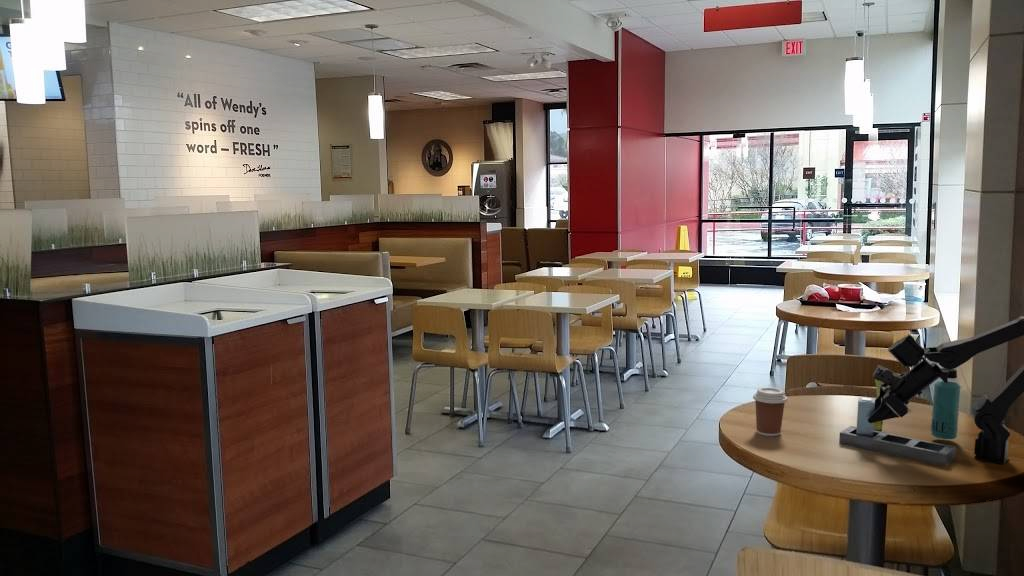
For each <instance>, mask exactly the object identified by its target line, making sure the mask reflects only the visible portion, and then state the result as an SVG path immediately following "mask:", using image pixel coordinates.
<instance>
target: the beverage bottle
mask: <svg viewBox="0 0 1024 576" xmlns="http://www.w3.org/2000/svg"><path fill="white" fill-rule="evenodd" d="M940 368H941V369H942V370H943V371H948V372H949V374H948V382H947V383H945V382H944V381H943V380H942V379H939V380H936V381H935V382H934V387H933V388H934V389H933V390H934V391H933V396H932V400H933V401H932V411H931V425H930V431H929V432H930V433H931V436H933V437H934V438H937V439H942V440H956V438H957V437H958V430H959V407H960V405H959V404H960V398H961V397H960V395H961V394H960V393H961V387H962V386H960V384H959V383H958V382H957V381H954V380H950V379H957V378H958V370H957V369H956V368H954V369H946V368H943V367H940Z"/></svg>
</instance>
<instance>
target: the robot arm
mask: <svg viewBox="0 0 1024 576" xmlns="http://www.w3.org/2000/svg"><path fill="white" fill-rule="evenodd" d="M1023 336H1024V315H1022V316H1021V315H1020V316H1019V317H1017V318H1015V319H1013V320H1011V321H1009V322H1006V323H1004V324H1001V325H998V326H997V327H994V328H991V329H988V330H987V331H983V332H982V333H979V334H977V335H974V336H972V337H969V338H965V339H964V338H963V339H956V340H952V341H948V342H943V343H940V344H939V345H938V346H933V347H931V346H930V347H929V346H927V347H922V345H920V343H919V342H917V341H916V340H915V337H914V336H912V334H911V333H908V334H907V335H906V336H903V337H902V338H900V339H897V340H896V341H895V342H894V343H892V345H890V346H889V348H888V349H887V351H888V352H889V354H891V355H892V356H893V358H895V359H896V360H897V362H899V363H900V364H901V365H902V367H903V368H904V367H905V368H906V367H908V368H911V369H910V370H909V371H907V372H903V371H902V372H901V373H896V372H894V371H893V370H890V369H889V368H887V367H885V366H883V365H880V364H878V365H877V366H876V368H875V370H874V371H873V373H872V379H874V380H875V379H876V380H877V381H881V382H882V383H881V386H882V387H883V388H882V387H881V386H880V387H879V395H878V397H877V396H876V398H874V399H875V411H874V413H873V414H872V415H871V416H870V417H869V418H868V420H867V421H868V422H869V423H874V422H878V421H882V420H883V421H885V420H890V419H896V418H897V419H899V418H901V419H902V418H903V417H905V416H906V415H907V414H908V411H909V409H908V404H909V403H910V400H912V399H913V398H915V397H916V396H917V395H918V396H920V395H922V394H923V391H924V390H925V389H926V388H928V387H929V386H931V385H932V384H933V383H935V382H937V381H938V379H940V380H943V381H944V382H945V383H947V382H948V380H949V378H948V374H949V372H948V371H943V370H942V369H941V368H946V369H956V368H959V367H960V366H961V365H963V364H965V363H966V362H968V361H970V360H971V359H972V358H973V357H974V356H976V355H978V354H979V353H984V352H985V351H987V350H990V349H992V348H995V347H997V346H1000V345H1003V344H1005V343H1008V342H1010V341H1013V340H1015V339H1017V338H1020V337H1023ZM898 374H900V375H898ZM1023 393H1024V363H1023V364H1022V365H1021V366H1020V368H1019V369H1017V370H1016V372H1015V373H1014V374H1013V375H1011V377H1010V378H1009V379H1008V380H1007V381H1005V383H1004V384H1003V385H1002V386H1001V388H999V389H998V391H997V392H995V393H994V394H992V395H990V396H988V395H987V394H985V393H983V394H982V395H981V396H980V398H979V399H978V400H977V401H975V402H974V403H972V407H973V408H972V409H971V417H972V419H973V421H974V424H975V426H976V427H977V428H978V429H979V430H980V432H979V433H978V434H977V435H978V436H977V437H976V438H975V439H974V452H973V454H974V457H973V458H974V459H976V460H980V461H986V462H990V463H996V464H1000V465H1004V464H1005V463H1006V462H1007V461H1008V460H1009V457H1010V456H1009V455H1008V454H1009V453H1008V451H1009V442H1010V440H1009V439H1010V436H1011V432H1010V430H1009V429H1008V427H1007V426H1006V424H1005V423H1004V420H1006V417H1007V415H1008V413H1009V411H1010V409H1011V406H1012V405H1014V403H1015V402H1016V401H1017V400H1018V399H1019V398H1020V397H1021V396H1022V395H1023Z"/></svg>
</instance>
